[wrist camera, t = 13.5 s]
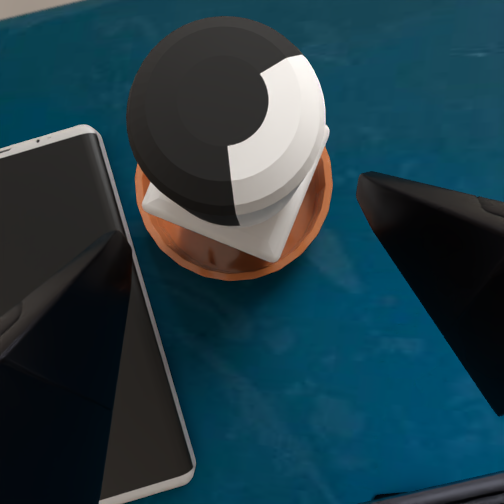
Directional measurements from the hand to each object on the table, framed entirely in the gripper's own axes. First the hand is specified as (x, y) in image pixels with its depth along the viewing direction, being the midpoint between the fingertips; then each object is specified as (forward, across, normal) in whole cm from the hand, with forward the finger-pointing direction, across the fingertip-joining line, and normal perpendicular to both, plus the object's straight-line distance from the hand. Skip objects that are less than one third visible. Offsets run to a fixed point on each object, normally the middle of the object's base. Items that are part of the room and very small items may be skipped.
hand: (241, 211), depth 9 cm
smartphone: (+5, +15, +10) cm, 18 cm away
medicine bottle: (+9, 0, +5) cm, 10 cm away
